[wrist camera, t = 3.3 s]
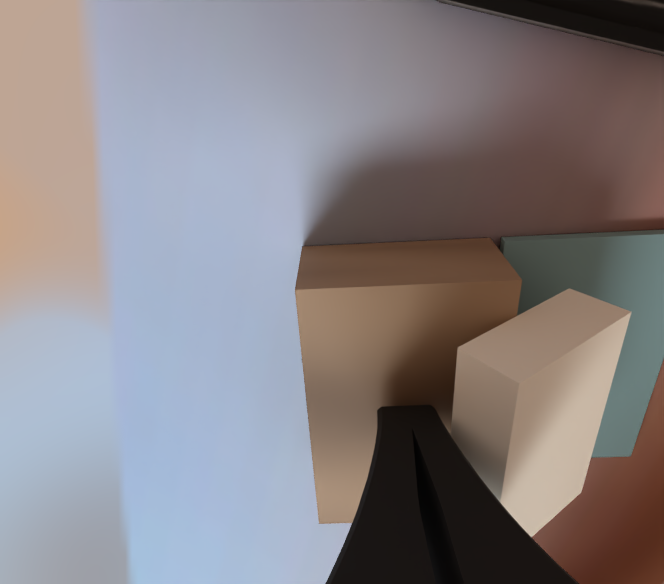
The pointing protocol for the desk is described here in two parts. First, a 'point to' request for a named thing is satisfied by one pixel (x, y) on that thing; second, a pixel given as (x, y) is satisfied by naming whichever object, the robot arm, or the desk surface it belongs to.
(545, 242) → the mat
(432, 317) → the block
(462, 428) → the cream rectangular block
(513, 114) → the desk surface
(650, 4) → the phone
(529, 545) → the robot arm
